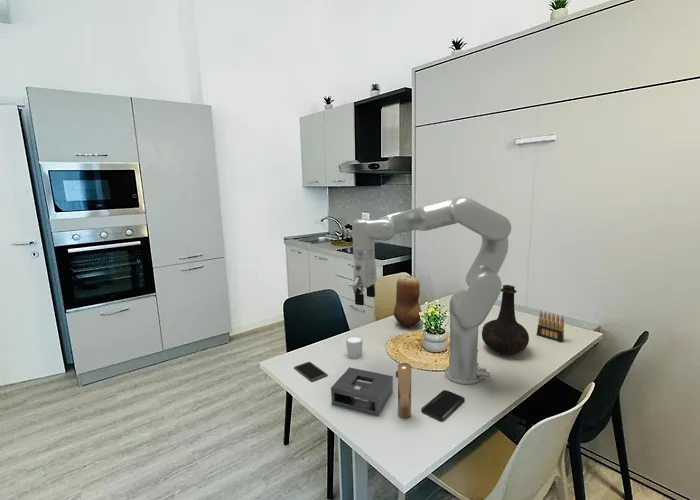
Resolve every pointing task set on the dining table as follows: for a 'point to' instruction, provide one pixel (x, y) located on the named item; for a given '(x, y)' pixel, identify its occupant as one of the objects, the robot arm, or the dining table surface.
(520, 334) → the glass bottle
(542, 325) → the ammunition clip
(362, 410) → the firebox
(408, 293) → the butternut squash
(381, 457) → the dining table surface
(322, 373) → the cell phone
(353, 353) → the white cylinder
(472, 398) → the dining table surface
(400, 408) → the brown long cylinder
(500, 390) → the dining table surface
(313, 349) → the dining table surface
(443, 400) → the phone
